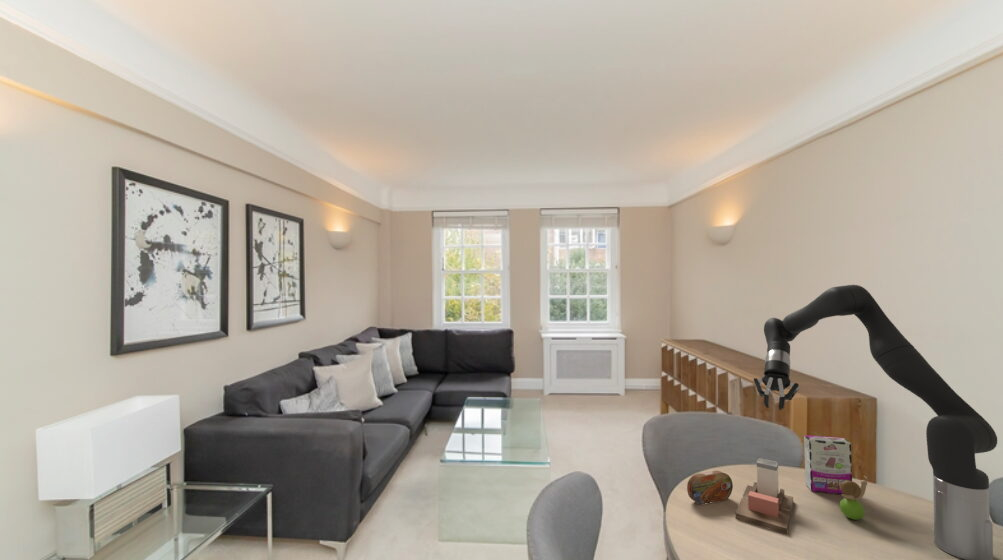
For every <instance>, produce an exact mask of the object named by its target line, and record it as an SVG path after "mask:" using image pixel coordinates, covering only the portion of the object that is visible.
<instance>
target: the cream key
mask: <svg viewBox="0 0 1003 560" xmlns="http://www.w3.org/2000/svg"><path fill="white" fill-rule="evenodd" d="M756 483H757V493H760V494H763V495H767V496H771V497H775V498H778V495H779V492H780V489H779V462H778V461H774V460H770V459H765V458H762V457H758V459H757V461H756Z"/></svg>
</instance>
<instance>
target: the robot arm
mask: <svg viewBox="0 0 1003 560" xmlns="http://www.w3.org/2000/svg"><path fill="white" fill-rule="evenodd" d="M852 315H854V316H855V317H857V319H858V320H859V321H860V322H861V324H863V326H864V327H865V328H866V330H867V332H868V339H869V340H868V342H869V351H870V353H871V356H872V359H874V361H875V362H876V364H878V366H880V368H881V369H882V371H883V372H884V373H885V374H886V375H887V376H888V377H889V378H891V379H892V380H893V382H896V383H897V384H898V385H899V386H901V387H903V388H904V389H905V390H907V391H909V392H910V393H912V394H913V395H914V396H916V397H918V398H920V400H922V401H923V402H924V403H925V404H927V405H928V406H929V408H930V409H931V410H932V411H933V412H934V413H935V414H936V416H933V417H932V418H931V419H930V420H929V421H928V423H927V424H926V425H927V426H926V431H925V432H926V433H925V434H926V446H927V449H926V450H927V459H928V462H929V464H930V466H931V468H932V480H933V481H932V486H933V487H932V488H933V494H932V495H933V497H932V498H933V538H934V544H935V546H937V548H939V549H940V550H942V551H944V552H945V553H948V554H950V555H952V556H954V557H956V558H958V559H961V560H962V559H963V560H994V534H993V532H994V531H993V530H994V529H993V528H994V527H993V523H992V521H991V519H990V518H991V517H990V479H989V476H988V474H987V473H985V472H984V471H983V470H981V469H979V468H977V463H976V454H983V453H988V452H991V451H993V450H995V448H997V445H998V435H997V434H996V432H995V430H994V428H993V427H992V425H991V424H990V423H989V422H988V421H987V419H985V418H984V417H983V416H982V415H980V413H979V412H977V411H976V409H974V408H973V407H972V406H971V405H970V404H968V402H967V401H965V400H964V399H963V398H962V397H961V396H960V395H959V394H958V393H956V391H954V389H953V388H952V387H951V386H950V385H949V384H948V382H946V380H945V379H944V378H943V377H942V376H941V375H940V374H939V373H938V372H937V371H936V370H935V369H934V368H933V367H932V366H931V365H930V363H929V362H928V361H927V360H926V359H925V357H924V356H923V355H922V354H921V353H920V351H918V349H916V347H915V346H914V345H913V344H912V343H911V342H910V341H909V340H908V339H907V338H906V337H905V336H904V334H902V333H901V331H900V330H899V329H898V328H897V327H896V325H895V324H894V323H893V321H891V319H890V318H889V317H888V316H887V315H886V313H885V312H884V310H883V309H882V308H881V306H880V305H879V304H878V302H877V301H876V299H875V298H874V297H873V296H872V294H871V293H870V292H869V291H868V290H867V289H866V288H865V287H863V286H861V285H858V284H847V285H839V286H833V287H830V288H828V289H826V290H825V291H824V292H822V293H821V294H820V295H818V296H817V297H816V298H814V300H812V301H810V303H808V304H807V305H805V306H804V307H802V308H800V309H798V310H795V311H793V312H791V313H789V314H787V315H786V316H785V317H784V318H783V319H780V318H778V317H770V318H768V319H767V320H766V321H765V322H764V326H763V333H764V336H765V337H764V338H765V340H766V344H767V348H766V356H765V358H764V359H765V361H764V367H763V376H762V377H761V378H756V377H754V378H753V384H754V386H755V388H756V390H757V393H758V395H759V396H760V397H763V405H764V406H765V407H766V408H767V409H769V408H770V396H771V394H772V392H775V391H777V392H779V396H780V397H779V399H778V409H779V410H780V411H782V410H784V409H785V403H786V401H787V400H788V401H791V400H792V401H793V399H794V397H795V395H797V392H799V390H800V385H799V383H797V382H792V381H791V379H790V371H791V344H790V343H789V342H793V341H795V339H796V338H797V337H798V336H799V334H800V333H802V332H804V331H806V330H809V329H811V328H813V327H815V326H816V325H817V324H818V323H819V321H820V320H823V319H826V318H831V317H838V316H839V317H843V316H852ZM762 384H764V385H765V390H763V389H762V387H761V386H762ZM789 386H790V389H789V391H788V392H787V393H785V390H786V389H787V388H788V387H789Z"/></svg>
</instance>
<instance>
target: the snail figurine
mask: <svg viewBox="0 0 1003 560" xmlns="http://www.w3.org/2000/svg"><path fill="white" fill-rule="evenodd" d="M863 478H864V479H861V480H860V485H859V484H858V483H856V482H855V481H853V480H852V481H845V482H843V483H842V485H841V490H842V492H843V493H844V494H842V495H841V496H842V497H843V498H842V499H841V500H840V501H839V509H840V511H841V513H842V514H843V515H845V517H847V518H848V519H850V520H855V521H857V520H861V519H863V518H864V517H865V516H866V510H865V507H864V505H863V504H862V503H861V501H859V499H861V498H863V497H864V495H865V493H866V489H867V486H868V482H867V481H868V476H866V475H864V476H863Z"/></svg>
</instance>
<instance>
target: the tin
mask: <svg viewBox="0 0 1003 560" xmlns="http://www.w3.org/2000/svg"><path fill="white" fill-rule="evenodd" d="M733 486H734V485H733V480H732V478H731V476H730V475H729V474H727V473H725V472H723V471H721V470H711V471H706V472H701V473H696V474H693V475H692V476H691V477H690V478H689V479H688V481H687V487H686V492H687V494H688V497H689V498H690V499H691V500H692V502H695V503H696V504H697V505H700V506H703V505H702V504H705V503H710V502H715V503H718V502H719V501H720V502H724V501H726V500H728V498H730V496H731V495H732V493H733V488H734V487H733ZM710 504H711V503H710Z"/></svg>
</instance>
